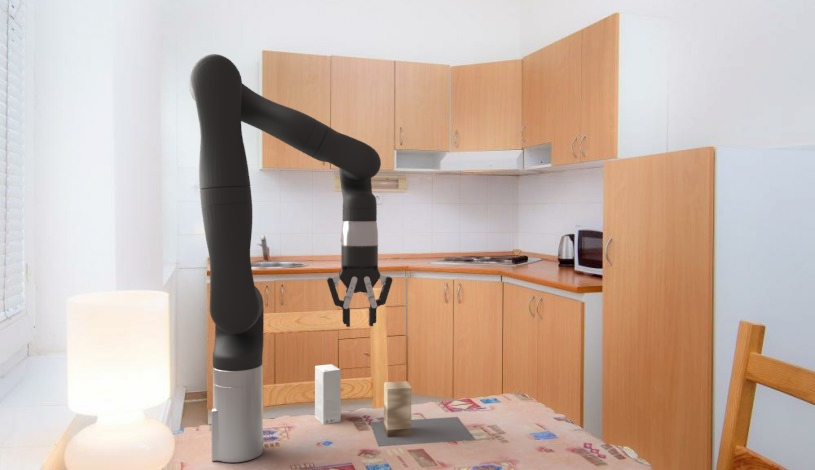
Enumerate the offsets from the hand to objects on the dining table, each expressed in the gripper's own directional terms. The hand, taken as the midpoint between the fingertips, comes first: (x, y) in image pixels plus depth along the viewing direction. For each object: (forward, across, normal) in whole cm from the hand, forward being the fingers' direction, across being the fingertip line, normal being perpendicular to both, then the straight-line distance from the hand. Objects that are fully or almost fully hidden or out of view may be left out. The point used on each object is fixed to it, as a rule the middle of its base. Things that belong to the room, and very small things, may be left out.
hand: (359, 325), depth 126 cm
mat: (+23, +13, 0) cm, 27 cm away
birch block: (+23, +8, 0) cm, 24 cm away
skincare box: (+23, -6, +11) cm, 27 cm away
